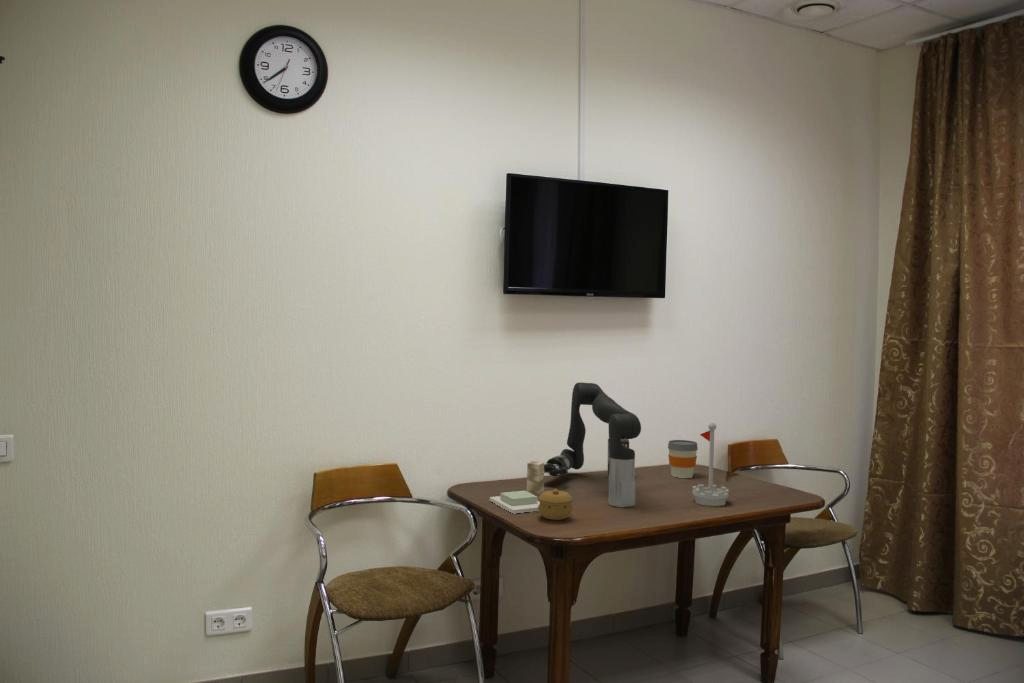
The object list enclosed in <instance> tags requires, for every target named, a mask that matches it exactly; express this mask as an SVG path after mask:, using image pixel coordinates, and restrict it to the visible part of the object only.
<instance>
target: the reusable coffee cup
mask: <svg viewBox="0 0 1024 683" xmlns="http://www.w3.org/2000/svg"><path fill="white" fill-rule="evenodd" d="M667 446H668V447H667V449H668V456H667V457H668V463H669V466H670V471H671V472H670V474H671V475H672V476H674V477H678V478H691V477H693V476H694V471H695V467H696V464H697V458H698V456H697V452H698V449H699V448H698V442H696V441H693V440H687V439H686V440H685V439H674V440H673V439H672V440H669V441H668V444H667ZM672 476H671V477H672ZM674 477H673V478H674ZM678 478H677V479H678ZM693 478H694V477H693ZM691 479H692V478H691Z"/></svg>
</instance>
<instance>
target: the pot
mask: <svg viewBox="0 0 1024 683" xmlns="http://www.w3.org/2000/svg"><path fill="white" fill-rule="evenodd" d="M537 501H539V502H540V504H539V506H538V510H539V514H540V515H541V517H543V518H544V519H546V520H551V521H561V520H562V521H563V520H566V519H568V518H569V516H570V515H571V514H572V511H573V509H574V508H573V506H572V503H573V497H572V496H571V494H569V493H568V492H567V491H563V490H558V489H557V488H554V489H552V490H546V491H545V490H544V492H543V493H542V494H541V495H540V496H538V498H537Z"/></svg>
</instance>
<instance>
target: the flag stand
mask: <svg viewBox="0 0 1024 683" xmlns="http://www.w3.org/2000/svg"><path fill="white" fill-rule="evenodd" d="M708 429H709V430H707V431H705V432H703V433H700V434H699V435H700V436H701V437H702V438H704V439H705V440H706V441H708V442H709V453H708V454H709V455H708V456H709V460H708V461H709V462H708V487H705V485H704V484H697V485H694V486H692V495H694V497H695V498H694V502H695V503H696V504H698V505H702V506H707V507H723V506H725V505H726V501H727V500H726V499H727V498H729V493H730V492H729V488H727V487H725V486H720V487H719V488H717V485H716V484H714V459H715V457H714V456H715V455H714V452H715V449H714V446H715V430H716V429H717V424H716V423H715V422H709V424H708Z"/></svg>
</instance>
